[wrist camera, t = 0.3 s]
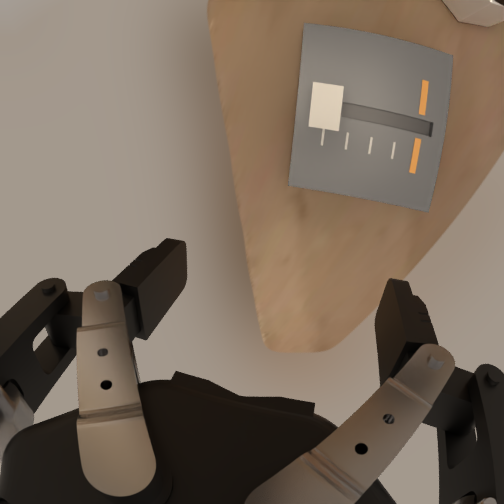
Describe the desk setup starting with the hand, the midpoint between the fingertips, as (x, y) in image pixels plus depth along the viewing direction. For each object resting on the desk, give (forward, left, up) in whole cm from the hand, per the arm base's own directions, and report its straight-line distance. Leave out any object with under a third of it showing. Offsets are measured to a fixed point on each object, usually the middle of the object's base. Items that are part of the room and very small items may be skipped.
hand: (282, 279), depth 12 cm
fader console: (-7, +6, -26) cm, 27 cm away
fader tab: (-7, +1, -24) cm, 24 cm away
